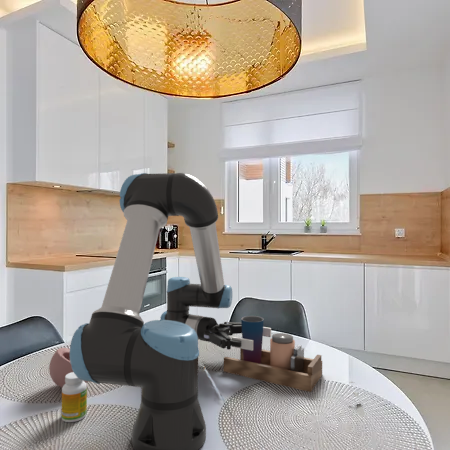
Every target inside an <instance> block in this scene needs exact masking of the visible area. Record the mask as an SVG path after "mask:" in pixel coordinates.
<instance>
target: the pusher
mask: <svg viewBox="0 0 450 450" xmlns="http://www.w3.org/2000/svg"><path fill="white" fill-rule="evenodd" d="M304 357H305V348H304V347H302V345H301V344H297V345H295V348H294V355H293V356H292V357H291V371H296V372H301V373H303V372H304Z"/></svg>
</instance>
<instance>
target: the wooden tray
mask: <svg viewBox="0 0 450 450" xmlns="http://www.w3.org/2000/svg"><path fill="white" fill-rule="evenodd" d="M239 350H240V351H239V352H240V354H239V355H240V357H239V359H238V358H234V357H230V356H224V357H223V372H224V373H228V374H232V375H236V376H241V377H245V378H250V379H253V380H257V381H261V382H262V381H263V382H266V383H270V384H274V385H279V386H282V387H287V388H290V389H291V388H292V389H297V390H300V391H305V392H309V393H312V391H313V390H314V388H315V386H316V385H317V384H318V382H319V381H320V380H321V377H322V376H323V360H322V355H321V354H316V355H315V357H314V358H310V357H305V356H304V372H303V373H301V372H296V371H291V370H287V369H282V368H277V367H272V366H270V350H268V349H263V348H262V353H261V364H258V363H254V362H249V361H244V360H243V349H241V348H239Z"/></svg>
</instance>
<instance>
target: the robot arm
mask: <svg viewBox="0 0 450 450" xmlns="http://www.w3.org/2000/svg"><path fill="white" fill-rule="evenodd" d="M119 191H120V192H119V197H120V198H119V199H118V200H119V206H120V210H121V211H122V213H123V217H124V218H125V220H126V224H125V226H124V229H123V230H124V231H123V233H122V238H121V241H120V243H119V247H118V250H117V252H116V253H117V254H116V258H115V261H114V264H113V268H112V271H111V273H110V278H109V281H108V283H107V287H106V291H105V295H104V298H103V300H102V304H101V307H99V308H98V309H95V310H94V311H93V312H92V314H91V316H90V319H89V323H84V324H81V325H80V326H78V328H77V329H76V330H75V331H74V333H73V335H72V338H71V340H70V346H69V349H70V363H71V366H72V370H73V372H74V374H75V375H76V376H77V377H78V378H79V379H81V380H84V381H88V382H91V383H93V384H96V385H97V384H98V385H100V384H107V385H108V384H109V385H117V386H127V387H138V388H140V389H141V391H140V393H141V394H140V395H141V397H140V398H141V399H140V405H139V409H138V412H137V414H136V416H135V420H134V423H133V427H132V432H131V445H132V448H133V450H199V449H201V448H202V446H203V445H204V444H205V442H206V438H207V424H206V421H205V418H204V415H203V411H202V408H201V406H200V405H201V404H200V401H199V399H198V398H199V396H198V395H199V357H200V349H199V341H203V342H207V343H211V344H213V345H216V346H217V347H219V348H221V349H226V350H231V349H232V348H236V349H237V348H238V349H240V348H241V349H246V350H251V351H252V350H253V340H249V339H244V338H242V337H237V336H233V335H237V334H242V324H241V322H232V321H223V322H222V323H219V324H218V322H217V320H216V318H214V317H211V316H210V317H208V316H203V315H199V314H198V315H197V314H191V313H190V307H197V308H207V309H208V308H210V309H229V308H231V306H232V302H233V288H232V287H231V285H227V284H225V281H224V273H223V266H222V265H223V264H222V259H221V253H220V252H221V251H220V246H219V245H220V244H219V238H218V231H217V223H216V222H218V219H219V212H218V206H217V203H216V200H215V199H214V197H213V194H212V193H211V192H210V190H209V189H208V188H207V187H206V185H205V184H204V183H203V182H202V181H200V179H198V178H197V177H195V176H193V175H191V174H189V173H185V172H176V173H175V172H174V173H173V172H172V173H171V172H170V173H169V172H168V173H167V172H165V173H147V172H142V173H138V174H137V173H135V174H132V175H130V176H128V177H127V178H125V180H124V182H123V183H122V185H121V188H120V189H119ZM179 216H181V217H183V219H184V224H185V225H186V226H187V227H189V230H190V236H191V242H192V246H193V253H194V257H195V261H196V266H197V271H198V277H199V281H200V283H191V281H190V278H189V277H185V276H173V277H170V278H169V279H168V280H167V286H166V311H163V312H162V313H161V315H160V320H158V319H155V320H154V319H153V320H148V321H147V322H144V320H143V319H142V317H141V315H140V312H141V309H142V304H143V300H144V296H145V291H146V287H147V283H148V280H149V279H148V278H149V275H150V270H151V266H152V262H153V260H154V259H153V258H154V254H155V253H154V252H155V250H156V246H157V245H156V244H157V242H158V237H159V233H160V230H161V229H162V228H164V227H166V226H167V223H168V220H169V217H179ZM230 336H231V337H230ZM263 337H267V338H272V328H271V327H266V326H263Z"/></svg>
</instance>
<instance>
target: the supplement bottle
mask: <svg viewBox="0 0 450 450" xmlns="http://www.w3.org/2000/svg"><path fill="white" fill-rule="evenodd" d="M65 383H66V384H65V385H64V386H63V387H62V388H61V420H62V421H63V422H65V423H74V422H78V421H81V420H83V419H84V418H85V417H86V415H87V412H88V411H87V409H88V406H87V405H88V403H87V402H88V401H87V400H88V398H87V396H88V384H87V383H85V382H84V381H83V380H81V379H79V378H78V377H77V376H76V375H75V374H74V372H72V373H69V374H67V375H66V376H65Z"/></svg>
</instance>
